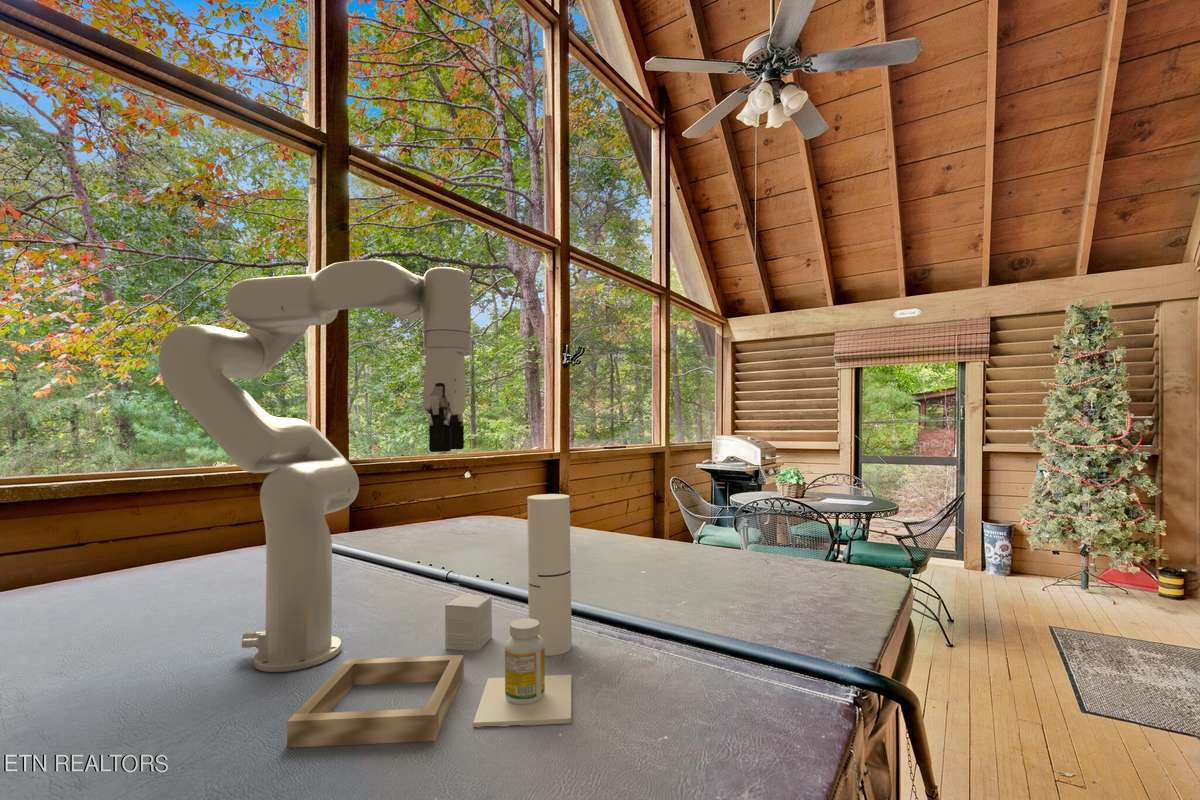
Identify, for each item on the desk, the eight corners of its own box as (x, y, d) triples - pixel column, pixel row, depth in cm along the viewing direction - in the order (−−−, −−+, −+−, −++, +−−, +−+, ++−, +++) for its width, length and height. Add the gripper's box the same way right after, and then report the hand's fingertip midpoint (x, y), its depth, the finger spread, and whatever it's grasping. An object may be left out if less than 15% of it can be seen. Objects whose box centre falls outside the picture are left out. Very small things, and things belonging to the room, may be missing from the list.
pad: (473, 727, 67) (473, 722, 67) (488, 682, 79) (488, 678, 79) (571, 723, 68) (570, 718, 68) (571, 678, 80) (571, 674, 80)
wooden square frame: (287, 747, 63) (287, 721, 64) (347, 680, 80) (347, 659, 81) (435, 740, 64) (435, 714, 65) (463, 675, 81) (463, 655, 81)
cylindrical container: (565, 657, 87) (563, 499, 89) (522, 654, 89) (521, 499, 90) (576, 640, 94) (574, 494, 96) (536, 637, 96) (535, 493, 97)
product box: (461, 635, 97) (460, 593, 98) (493, 637, 96) (492, 595, 96) (444, 649, 91) (444, 604, 92) (478, 651, 90) (478, 606, 90)
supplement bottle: (523, 710, 70) (522, 633, 70) (496, 697, 73) (496, 624, 74) (553, 694, 74) (552, 621, 74) (526, 682, 77) (525, 613, 78)
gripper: (436, 352, 98) (437, 448, 97) (408, 336, 80) (407, 453, 79) (479, 352, 98) (479, 448, 97) (459, 336, 81) (460, 452, 80)
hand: (447, 450), depth 88 cm, fingers open, 9 cm apart
